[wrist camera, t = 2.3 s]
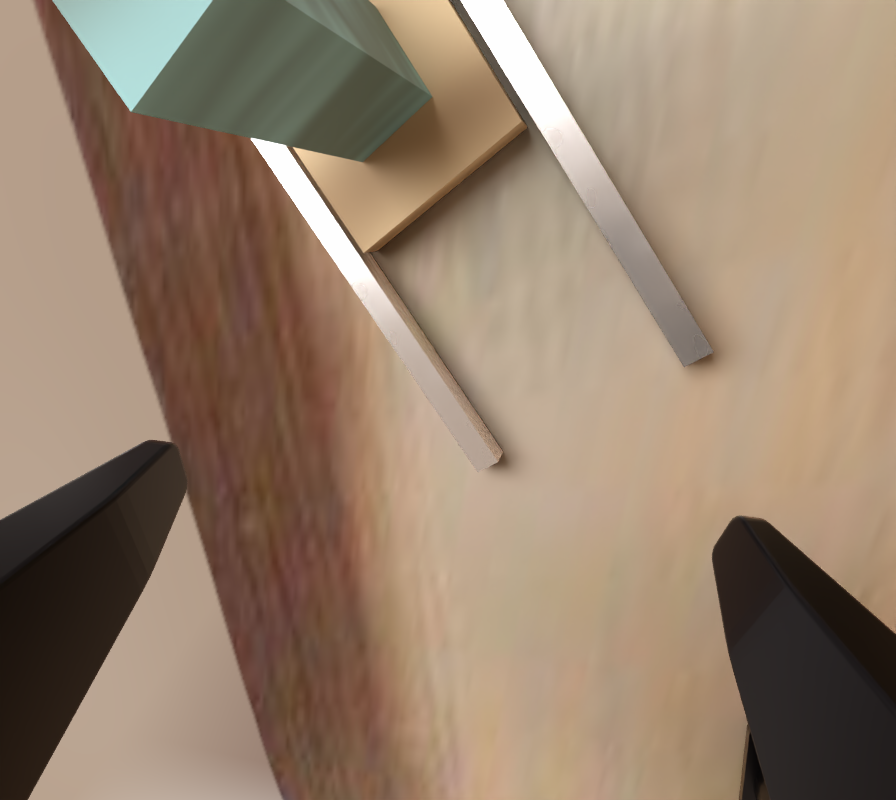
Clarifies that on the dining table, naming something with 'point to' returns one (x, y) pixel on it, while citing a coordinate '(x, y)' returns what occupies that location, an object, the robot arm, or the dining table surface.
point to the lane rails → (589, 183)
